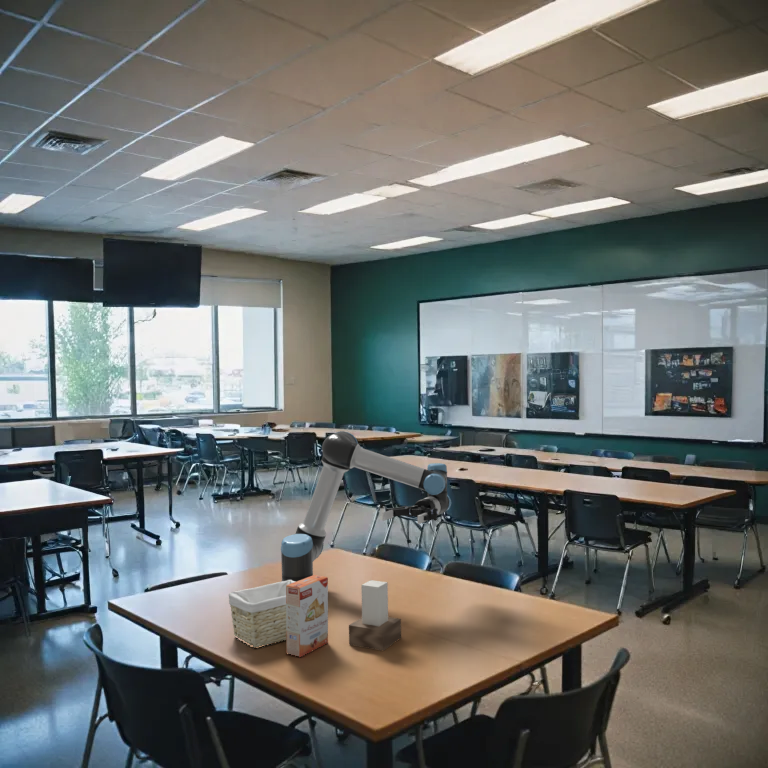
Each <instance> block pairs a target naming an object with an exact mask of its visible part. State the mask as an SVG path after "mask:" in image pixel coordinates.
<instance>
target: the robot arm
mask: <svg viewBox="0 0 768 768" xmlns="http://www.w3.org/2000/svg"><path fill="white" fill-rule="evenodd" d="M321 452H322V457H321V463H322V465H323V467H322V468H321V471H320V475H319V477H318V481H317V483H316V486H315V488H314V491H313V494H312V497H311V501H310V503H309V506H308V508H307V512H306V514H305V517H304V520H303V522H301V523H298V525H297V529H296V530H295V533H294V534H290V535H287V536H285V537H283V539H282V540H281V546H280V555H281V581H280V582H282V581H287V580H292V581H296V582H297V581H299V580H302V579H305V578H307V577H310V576H313V575H314V562H315V560H316V559H318V558H319V557H320V555H321V554H322V552H323V551H324V550H323V549H324V542H325V539H326V536H327V532H326V531H325V528H326V525H327V523H328V519H329V516H330V513H331V511H332V508H333V505H334V502H335V499H336V497H337V494H338V491H339V488H340V486H341V482H342V480H343V477H344V474H345V473H347V472H348V471H350V469H353V468H356V469H359V470H363V471H365V472H369V473H372V474H375V475H378V476H380V477H384V478H386V479H390V480H392V481H395V482H398V483H402V484H405V485H408V486H411V487H412V488H413V487H414V488H417V489H419V490H422V491H425V492H427V497H424V498H423V499H419V500H417V501H416V502H415V503H414V505H411V506H407V505H404V506H398V507H389V508H385V511H383V512H382V521H387V520H392V519H393V518H394V517H404V516H406V517H415V518H417V524H418V525H420V524H423V523H425V522H428V521H432V520H433V521H435V522H436V521H438V517H439V515H443V514H445V513H446V512H447V511H448V510H450V508H451V506H452V500H451V498H450V496H449V494H448V470H447V464H446V463H442V462H440V463H438V462H435V463H434V462H433V463H429V464H428V465H427V469H426V468H423V467H420V466H416V465H414V464H410V463H407V462H405V461H402V460H399V459H395V458H393V457H390V456H387V455H383V454H381V453H378V452H375V451H373V450H369V449H367V448H366V449H365V448H363V447H361V446H360V444H359V442H358V440H357V438H356V437H355V435H354V434H352V433H350V432H348V431H344V430H342V431H341V430H340V431H336V432H335V433H331V434H330V435H328V436H327V437H326V438H325V439H324V441H323V442H322V446H321Z"/></svg>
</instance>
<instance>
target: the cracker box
mask: <svg viewBox="0 0 768 768" xmlns="http://www.w3.org/2000/svg"><path fill="white" fill-rule="evenodd" d="M328 580H329V577H327V576H322V575H317V574H313V576H310V577H307V578H305V579H302V580H299V581H297V582H294V583H291V584H289V585H286V640H285V642H286V644H285V645H286V646H285V647H286V648H285V649H286V653H288V654H291V655H290V656H292V655H295V656H294V657H296V656H299V657H298V658H300V657H301V656H302V657H304V656H306V655H308V654H310V653H312V652H313V651H312V650H314V651H316V650H317V648H318V647H320V648H322V647H323V645H324V644H326V643H327V644H328V643H329V581H328ZM327 644H326V645H327ZM321 646H322V647H321ZM324 646H325V645H324ZM315 649H316V650H315ZM318 649H319V648H318ZM311 651H312V652H311ZM309 652H310V653H309ZM307 653H308V654H307ZM288 654H287V655H288ZM305 654H306V655H305ZM303 655H304V656H303ZM302 657H301V658H302Z"/></svg>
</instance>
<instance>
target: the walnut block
mask: <svg viewBox="0 0 768 768" xmlns="http://www.w3.org/2000/svg"><path fill="white" fill-rule="evenodd" d="M400 638H401V639H402V619H401V618H398V617H390V616H388V621H387V622H385V623H384V624H382V625H380V626H374V625H368V624H362V617H360V618H359V619H357V620H355V621H353V622H352V623H350V624H348V644H350V645H349V646H354V645H355V647H360V646H361V647H360V648H367V649H370V650H376V649H377V651H382V650H383V651H382V652H384V651H385V650H387V649H388V648H390V647H391V646H392V645H394V644H395V643H396V642H398V641H399V640H401V639H400ZM398 639H399V640H398ZM397 640H398V641H397ZM395 641H396V642H395ZM394 642H395V643H394ZM393 643H394V644H393ZM390 645H391V646H390ZM386 648H387V649H386Z"/></svg>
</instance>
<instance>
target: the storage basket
mask: <svg viewBox="0 0 768 768" xmlns="http://www.w3.org/2000/svg"><path fill="white" fill-rule="evenodd" d="M281 581H282V580H281ZM281 581H278V582H274V583H268V584H264V585H260V586H255V587H252V588H251V587H250V588H246V589H241V590H236V591H231V592H230V593H228V604H229V606H230V611H231V620H232V621H231V622H232V626H233V627H232V628H233V636H234V635H235V636H237V637H238V638H240V639H242V640H244V641H245V642H247V643H249V644H250V645H253V647H259V646H262V645H267V644H271V643H275V642H278V643H280V642H279V641H281V642H284V641H286V585H289V584H291V583H294V582H296V581H292V580H287V581H282V582H281ZM235 636H234V637H235ZM283 640H284V641H283ZM275 644H276V643H275ZM271 645H272V644H271ZM267 646H268V645H267Z"/></svg>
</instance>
